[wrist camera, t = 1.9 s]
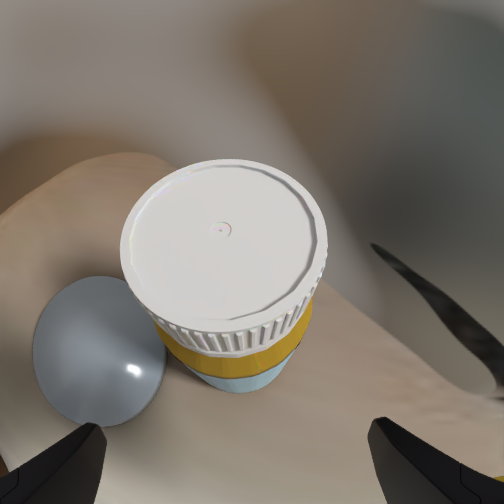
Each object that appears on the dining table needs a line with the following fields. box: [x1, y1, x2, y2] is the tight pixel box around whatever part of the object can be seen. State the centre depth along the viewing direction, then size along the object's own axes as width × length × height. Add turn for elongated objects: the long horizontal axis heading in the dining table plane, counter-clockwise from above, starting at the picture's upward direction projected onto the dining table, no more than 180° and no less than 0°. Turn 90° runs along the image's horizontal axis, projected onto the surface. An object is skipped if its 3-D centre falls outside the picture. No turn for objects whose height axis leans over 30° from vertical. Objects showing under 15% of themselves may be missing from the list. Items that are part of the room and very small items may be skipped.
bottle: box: [120, 159, 328, 393], centre depth 14 cm, size 7×7×15 cm
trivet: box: [33, 276, 167, 427], centre depth 20 cm, size 13×13×1 cm
